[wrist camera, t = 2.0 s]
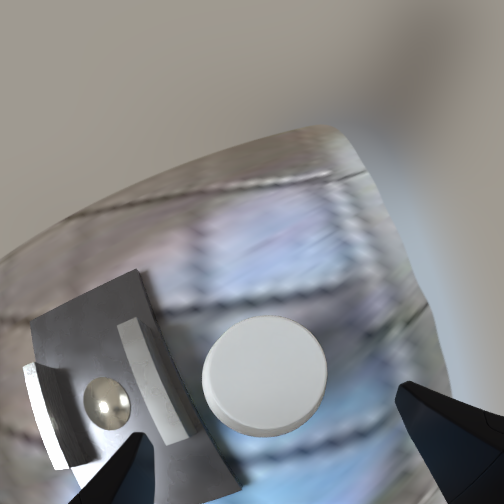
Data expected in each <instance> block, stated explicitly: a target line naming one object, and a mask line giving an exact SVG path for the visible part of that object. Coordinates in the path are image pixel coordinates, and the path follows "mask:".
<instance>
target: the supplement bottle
mask: <svg viewBox="0 0 504 504" xmlns="http://www.w3.org/2000/svg"><path fill="white" fill-rule="evenodd" d="M326 382H327V362H326V357H325V354H324V352H323V349H322V347H321V345H320V344H319V342H318V341H317V339H316V338H315V337H314V336H313V335H312V333H311V332H310V331H309V330H308V329H306V328H305V327H303V326H302V325H300V324H299V323H297V322H295V321H293V320H290V319H287V318H284V317H279V316H269V315H268V316H257V317H252V318H248V319H245V320H243V321H241V322H239V323H237V324H235V325H234V326H232V327H231V328H229V329H228V330H227V331H226V332H225V333H224V334H223V335H222V336H221V337H220V338H219V339H218V340H217V341H216V342H215V344H214V345H213V346H212V348H211V349H210V351H209V353H208V355H207V357H206V360H205V363H204V366H203V372H202V385H203V391H204V395H205V398H206V401H207V403H208V405H209V407H210V409H211V410H212V412H213V413H214V414H215V415H216V417H217V418H218V419H219V420H220V421H221V422H222V423H224V424H225V425H226V426H228V427H229V428H231V429H233V430H235V431H237V432H239V433H241V434H244V435H248V436H253V437H275V436H279V435H283V434H286V433H289V432H291V431H293V430H295V429H297V428H299V427H300V426H301V425H303V424H304V423H305V422H307V421H308V420H309V419H310V418H311V417H312V415H313V414H314V413H315V412H316V410H317V409H318V407H319V405H320V403H321V401H322V399H323V396H324V393H325V388H326Z"/></svg>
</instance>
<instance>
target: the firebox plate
mask: <svg viewBox="0 0 504 504" xmlns="http://www.w3.org/2000/svg"><path fill="white" fill-rule="evenodd" d="M30 327H31V334H32V341H33V347H34V353H35V359H36V362H33V363H31V364H28V365H26V366H24V367H23V370H24V375H25V380H26V384H27V389H28V393H29V397H30V400H31V404H32V408H33V411H34V414H35V418H36V421H37V424H38V427H39V430H40V433H41V436H42V438H43V441H44V444H45V446H46V449H47V451H48V454H49V456H50V458H51V461H52V463H53V465H54V468H55V470H57V469H66V468H71V469H72V471H73V473H74V475H75V477H76V479H77V481H78V483H79V485H80V487H81V489H82V488H83V487H84V486H85V485H86V484H87V483H88V482H89V481H90V480H91V479H92V478H93V476H94V475H95V474H96V473H97V472H98V471H99V470H100V469H101V468H102V467H103V465H104V464H105V463H106V462H107V461H108V460H109V459H110V458H111V456H112V455H113V454H114V453H115V452H116V451H117V450H118V449H119V447H120V446H121V445H122V444H123V443H124V442H125V441H126V440H127V438H128V437H129V436H130V435H131V434H132V433H133V432H144V433H145V434H146V435H147V436H148V438H149V440H150V441H151V443H152V444H153V446H154V459H155V497H154V504H202V503H205V502H208V501H212V500H215V499H218V498H221V497H224V496H227V495H230V494H233V493H235V492H238V491H241V490H242V485H241V484H240V482H239V481H238V479H237V478H236V476H235V475H234V473H233V472H232V470H231V469H230V467H229V465H228V464H227V462H226V461H225V459H224V457H223V456H222V454H221V453H220V451H219V449H218V448H217V446H216V444H215V442H214V441H213V439H212V437H211V436H210V434H209V432H208V430H207V428H206V427H205V425H204V423H203V421H202V419H201V417H200V416H199V414H198V412H197V410H196V408H195V406H194V404H193V402H192V400H191V398H190V396H189V394H188V392H187V390H186V388H185V386H184V384H183V382H182V380H181V377H180V375H179V373H178V371H177V369H176V366H175V364H174V362H173V360H172V357H171V355H170V353H169V350H168V348H167V346H166V343H165V341H164V338H163V336H162V334H161V331H160V329H159V326H158V323H157V321H156V318H155V316H154V313H153V310H152V308H151V305H150V302H149V299H148V296H147V293H146V291H145V288H144V285H143V282H142V279H141V276H140V273H139V272H138V270H137V269H134V270H132V271H130V272H128V273H126V274H124V275H122V276H119V277H117V278H115V279H113V280H111V281H109V282H107V283H105V284H103V285H101V286H99V287H97V288H95V289H92V290H90V291H88V292H86V293H84V294H82V295H80V296H78V297H76V298H74V299H72V300H70V301H68V302H66V303H64V304H62V305H60V306H59V307H57V308H55V309H53V310H51V311H49V312H47V313H45V314H43V315H41V316H39V317H37V318H35V319H33V320H32V321H30Z"/></svg>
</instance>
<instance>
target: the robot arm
mask: <svg viewBox="0 0 504 504" xmlns="http://www.w3.org/2000/svg"><path fill="white" fill-rule="evenodd" d="M395 404H396V406H397V408H398V411H399V413H400V415H401V417H402V420H403V422H404V424H405V427H406V429H407V431H408V433H409V435H410V437H411V439H412V441H413V442H414V444H415V446H416V447H417V449H418V451H419V453H420V454H421V456H422V458H423V460H424V461H425V463H426V465H427V467H428V468H429V470H430V472H431V474H432V476H433V477H434V479H435V481H436V483H437V485H438V487H439V488H440V490H441V492H442V494H443V496H444V498H445V500H446V502H447V504H504V416H500V415H497V414H493V413H490V412H488V411H485V410H482V409H479V408H476V407H473V406H471V405H468V404H466V403H463V402H460V401H458V400H455V399H453V398H450V397H448V396H445V395H443V394H440V393H438V392H436V391H433V390H431V389H428V388H426V387H423V386H421V385H419V384H416V383H414V382H412V381H407V382H404V383H402V384H400V385H399V387H398V391H397V394H396V397H395ZM154 497H155V459H154V446H153V444H152V443H151V441H150V440H149V438H148V436H147V435H146V434H145V433H144V432H133V433H132V434H131V435H130V436H129V437H128V438H127V440H126V441H125V442H124V443H123V444H122V445H121V446H120V447H119V449H118V450H117V451H116V452H115V453H114V454H113V455H112V456H111V458H110V459H109V460H108V461H107V462H106V463H105V464H104V465H103V467H102V468H101V469H100V470H99V471H98V472H97V473H96V474H95V475H94V476H93V478H92V479H91V480H90V481H89V482H88V483H87V484H86V485H85V486H84V487H83V488H82V490H81V491H80V492H79V494H77V495H76V496H75V497H74V498H73V499H72V500H71V501H70V502H69V503H68V504H154Z"/></svg>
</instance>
